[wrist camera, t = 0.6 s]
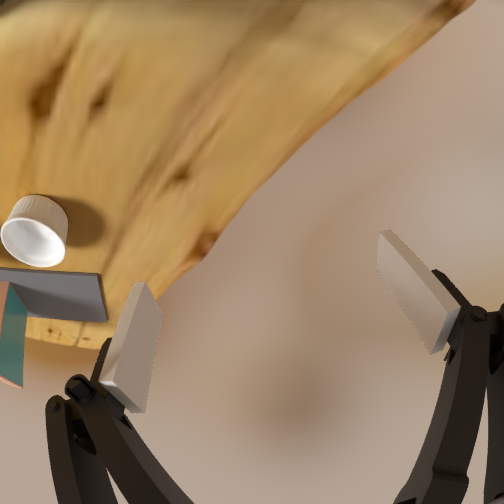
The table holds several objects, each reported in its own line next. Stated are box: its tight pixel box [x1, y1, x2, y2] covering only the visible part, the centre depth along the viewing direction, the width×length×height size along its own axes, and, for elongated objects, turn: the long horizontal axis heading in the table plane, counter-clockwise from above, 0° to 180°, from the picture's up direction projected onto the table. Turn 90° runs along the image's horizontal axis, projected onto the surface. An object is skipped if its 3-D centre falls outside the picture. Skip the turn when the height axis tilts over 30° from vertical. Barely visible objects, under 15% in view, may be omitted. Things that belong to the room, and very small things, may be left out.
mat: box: [0, 267, 107, 322], centre depth 39 cm, size 22×18×1 cm
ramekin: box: [1, 195, 68, 267], centre depth 24 cm, size 9×9×4 cm
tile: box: [0, 281, 28, 388], centre depth 31 cm, size 3×11×16 cm, turn 159°
